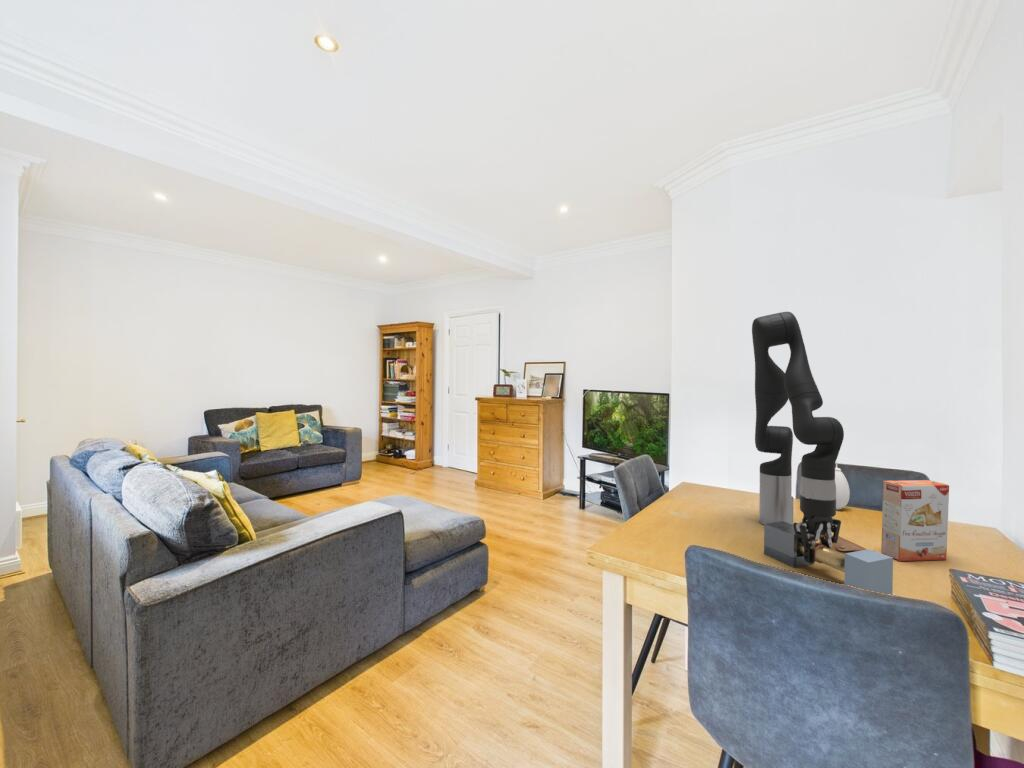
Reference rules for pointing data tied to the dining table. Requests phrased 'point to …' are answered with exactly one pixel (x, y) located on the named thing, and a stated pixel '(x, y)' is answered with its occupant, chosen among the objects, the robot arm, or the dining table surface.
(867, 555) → the socket
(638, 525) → the dining table surface
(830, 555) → the rod
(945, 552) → the cracker box
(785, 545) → the sleeve
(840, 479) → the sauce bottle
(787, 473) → the robot arm
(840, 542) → the sunglasses case
